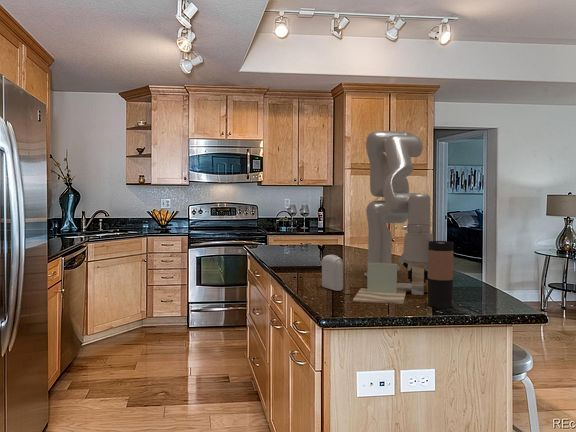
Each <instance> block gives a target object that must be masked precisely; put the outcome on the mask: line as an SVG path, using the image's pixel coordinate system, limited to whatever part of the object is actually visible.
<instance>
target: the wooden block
mask: <svg viewBox="0 0 576 432" xmlns="http://www.w3.org/2000/svg"><path fill="white" fill-rule="evenodd" d="M411 268H412V282H411V284H412V291H411V295H417V296H418V295H419V296H424V294H425V293H424V291H425V289H424V288H425V283H424V269H425V265H424V263H417V262H412V266H411Z"/></svg>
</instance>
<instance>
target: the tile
mask: <svg viewBox="0 0 576 432" xmlns="http://www.w3.org/2000/svg"><path fill="white" fill-rule="evenodd" d="M397 266H398V263H391V264H390V263H368V262H367V271H366V272H367V277H366V279H367V281H366V283H367V288H366V289H367V292H380V293H397V283H398V271H397Z"/></svg>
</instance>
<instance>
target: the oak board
mask: <svg viewBox="0 0 576 432" xmlns="http://www.w3.org/2000/svg"><path fill="white" fill-rule="evenodd" d="M406 294H407V290H397V293H380V292H367V288H361V287H360V289H359V290H358V291H357V293H356V294H355V296H354V297H353V299H352V302H361V303H378V304H392V303H393V304H394V305H396V304H397V305H404V304H405V300H406V299H405V298H406Z"/></svg>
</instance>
